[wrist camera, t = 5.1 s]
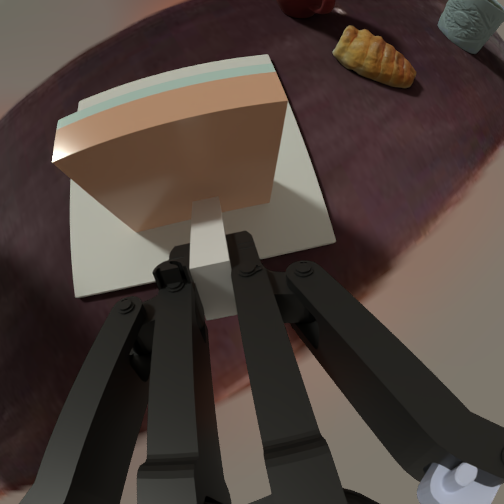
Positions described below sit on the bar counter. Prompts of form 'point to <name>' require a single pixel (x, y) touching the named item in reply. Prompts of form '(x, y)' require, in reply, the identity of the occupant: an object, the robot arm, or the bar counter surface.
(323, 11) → the mug
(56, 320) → the bar counter surface
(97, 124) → the tile
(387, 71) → the pastry
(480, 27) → the green ceramic cup
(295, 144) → the mat
